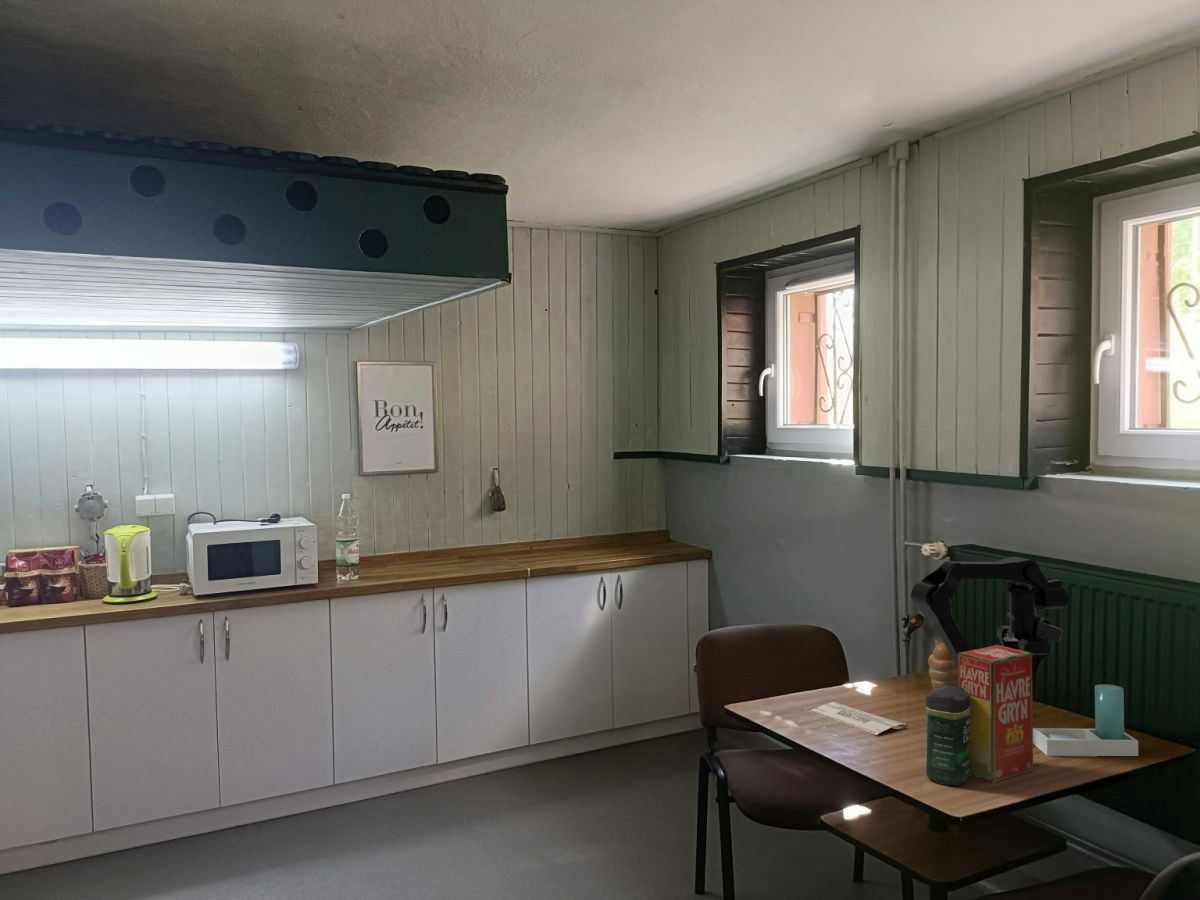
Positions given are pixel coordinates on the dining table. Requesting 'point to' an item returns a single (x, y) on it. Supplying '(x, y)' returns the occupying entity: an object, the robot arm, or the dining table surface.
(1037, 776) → the dining table surface
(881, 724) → the newspaper
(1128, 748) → the rack
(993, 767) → the food packaging
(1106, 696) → the teal rounded block
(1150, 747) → the dining table surface
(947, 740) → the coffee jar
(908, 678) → the dining table surface
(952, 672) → the cat ice cream
